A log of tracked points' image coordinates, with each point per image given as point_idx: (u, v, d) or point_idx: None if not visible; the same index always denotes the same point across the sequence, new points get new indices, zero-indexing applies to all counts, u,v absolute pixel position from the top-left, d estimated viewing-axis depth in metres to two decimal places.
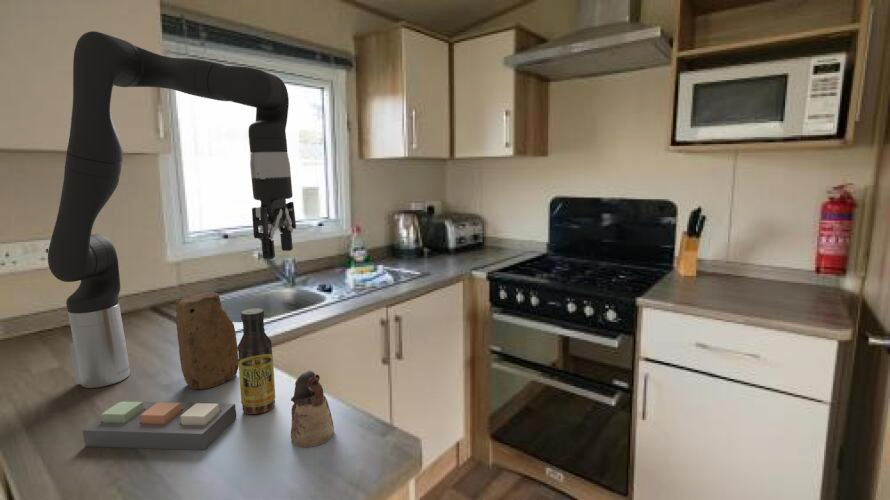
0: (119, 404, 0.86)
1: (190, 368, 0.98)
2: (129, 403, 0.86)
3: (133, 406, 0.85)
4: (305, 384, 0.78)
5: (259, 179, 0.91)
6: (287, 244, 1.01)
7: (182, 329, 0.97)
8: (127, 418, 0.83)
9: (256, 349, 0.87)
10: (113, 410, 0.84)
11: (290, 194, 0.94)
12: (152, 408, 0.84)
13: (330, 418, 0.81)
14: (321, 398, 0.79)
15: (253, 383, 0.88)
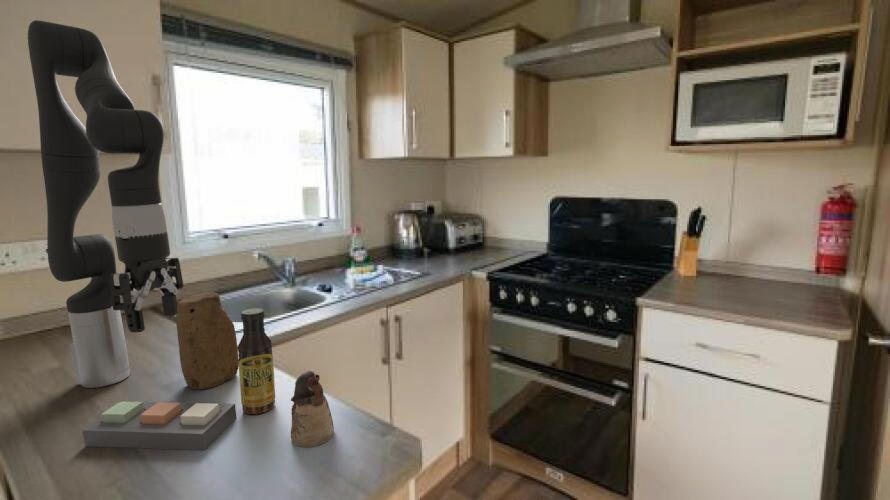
0: (119, 404, 0.86)
1: (190, 368, 0.98)
2: (129, 403, 0.86)
3: (133, 406, 0.85)
4: (305, 384, 0.78)
5: (121, 238, 0.75)
6: (170, 308, 0.85)
7: (182, 329, 0.97)
8: (127, 418, 0.83)
9: (256, 349, 0.87)
10: (113, 410, 0.84)
11: (164, 253, 0.79)
12: (152, 408, 0.84)
13: (330, 418, 0.81)
14: (321, 398, 0.79)
15: (253, 383, 0.88)
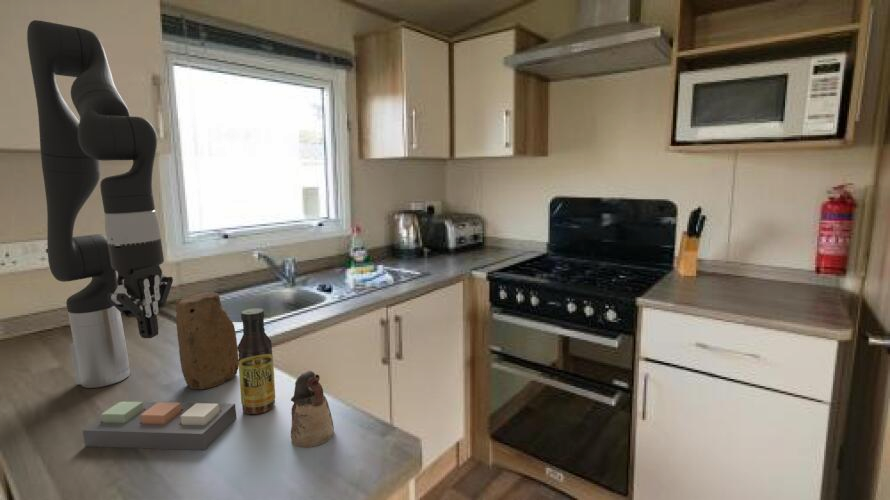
0: (119, 404, 0.86)
1: (190, 368, 0.98)
2: (129, 403, 0.86)
3: (133, 406, 0.85)
4: (305, 384, 0.78)
5: (114, 246, 0.75)
6: None
7: (182, 329, 0.97)
8: (127, 418, 0.83)
9: (256, 349, 0.87)
10: (113, 410, 0.84)
11: (158, 261, 0.78)
12: (152, 408, 0.84)
13: (330, 418, 0.81)
14: (321, 398, 0.79)
15: (253, 383, 0.88)
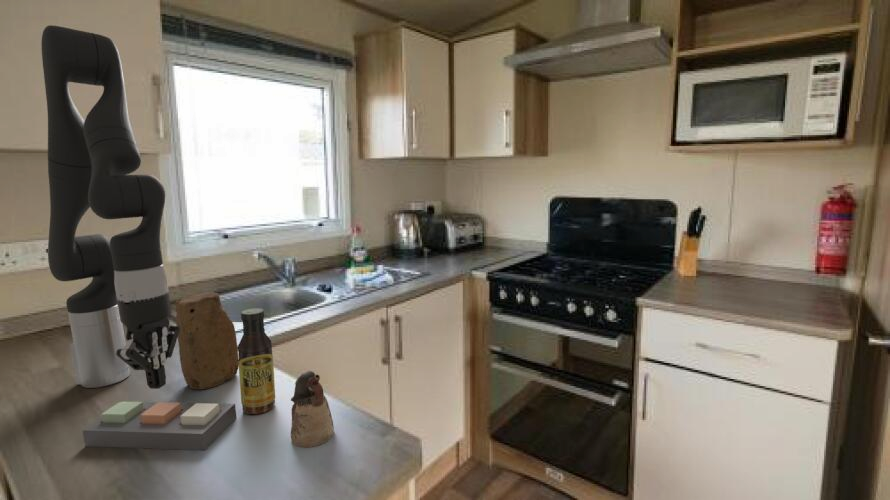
0: (119, 404, 0.86)
1: (190, 368, 0.98)
2: (129, 403, 0.86)
3: (133, 406, 0.85)
4: (305, 384, 0.78)
5: (123, 302, 0.76)
6: None
7: (182, 329, 0.97)
8: (127, 418, 0.83)
9: (256, 349, 0.87)
10: (113, 410, 0.84)
11: (166, 314, 0.80)
12: (152, 408, 0.84)
13: (330, 418, 0.81)
14: (321, 398, 0.79)
15: (253, 383, 0.88)
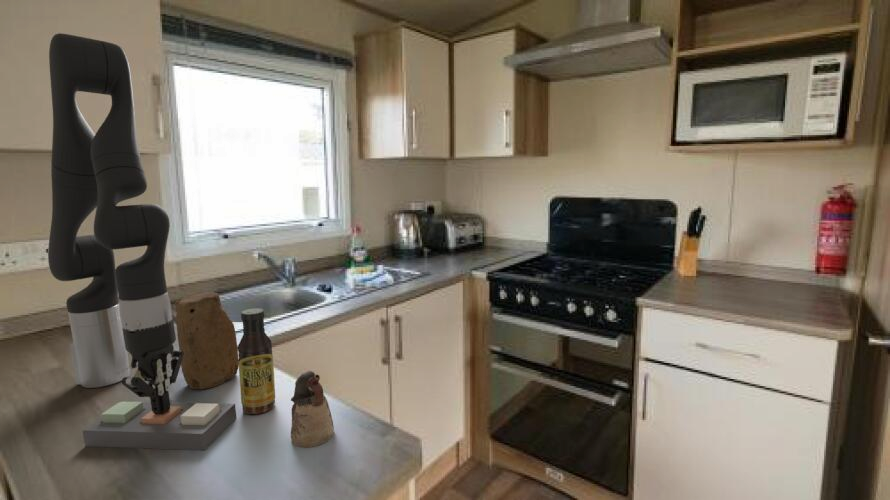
0: (119, 404, 0.86)
1: (190, 368, 0.98)
2: (129, 403, 0.86)
3: (133, 406, 0.85)
4: (305, 384, 0.78)
5: (128, 331, 0.77)
6: None
7: (182, 329, 0.97)
8: (127, 418, 0.83)
9: (256, 349, 0.87)
10: (113, 410, 0.84)
11: (170, 341, 0.81)
12: None
13: (330, 418, 0.81)
14: (321, 398, 0.79)
15: (253, 383, 0.88)
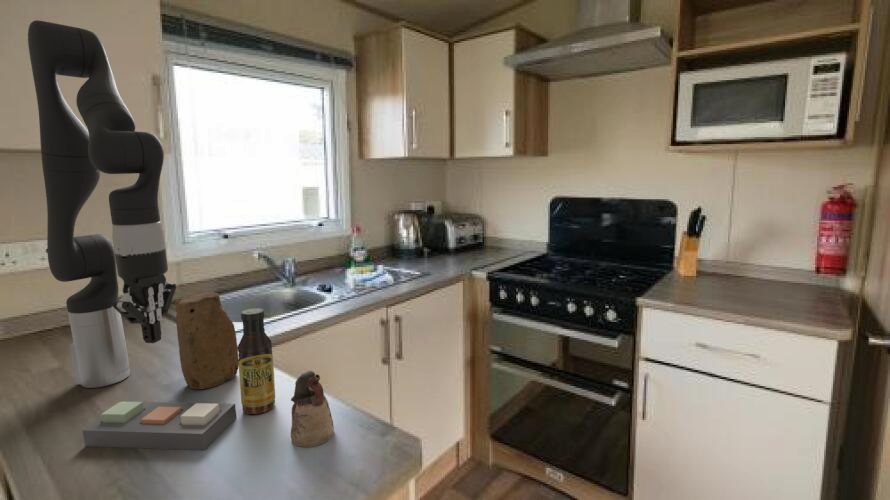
0: (119, 404, 0.86)
1: (190, 368, 0.98)
2: (129, 403, 0.86)
3: (133, 406, 0.85)
4: (305, 384, 0.78)
5: (120, 256, 0.78)
6: None
7: (182, 329, 0.97)
8: (127, 418, 0.83)
9: (256, 349, 0.87)
10: (113, 410, 0.84)
11: (162, 270, 0.82)
12: (153, 412, 0.84)
13: (330, 418, 0.81)
14: (321, 398, 0.79)
15: (253, 383, 0.88)
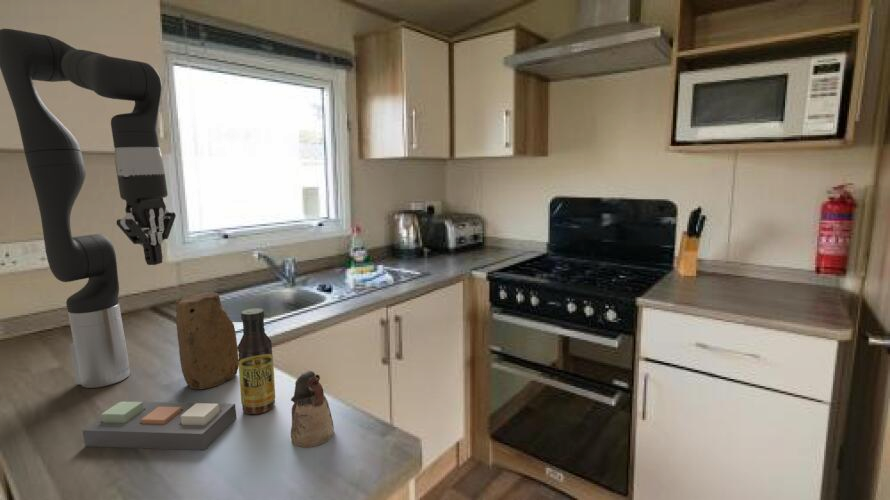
0: (119, 404, 0.86)
1: (190, 368, 0.98)
2: (129, 403, 0.86)
3: (133, 406, 0.85)
4: (305, 384, 0.78)
5: (122, 177, 0.83)
6: None
7: (182, 329, 0.97)
8: (127, 418, 0.83)
9: (256, 349, 0.87)
10: (113, 410, 0.84)
11: (162, 193, 0.87)
12: (153, 412, 0.84)
13: (330, 418, 0.81)
14: (321, 398, 0.79)
15: (253, 383, 0.88)
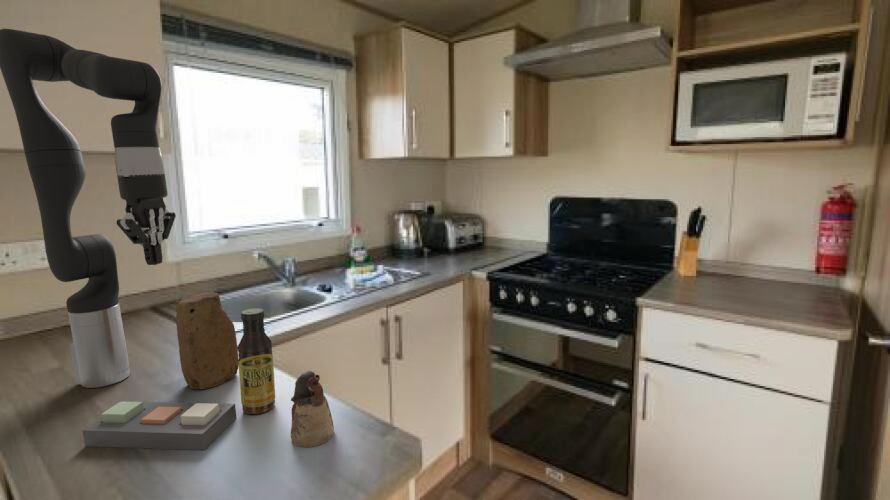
0: (119, 404, 0.86)
1: (190, 368, 0.98)
2: (129, 403, 0.86)
3: (133, 406, 0.85)
4: (305, 384, 0.78)
5: (122, 177, 0.83)
6: None
7: (182, 329, 0.97)
8: (127, 418, 0.83)
9: (256, 349, 0.87)
10: (113, 410, 0.84)
11: (162, 193, 0.87)
12: (153, 412, 0.84)
13: (330, 418, 0.81)
14: (321, 398, 0.79)
15: (253, 383, 0.88)
